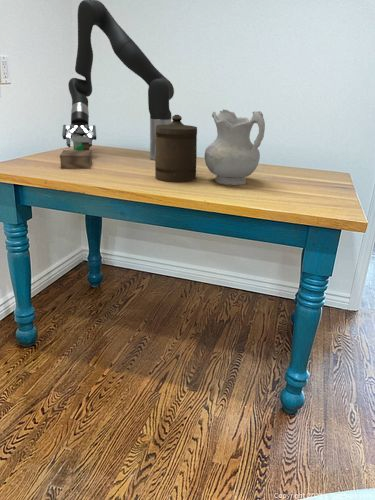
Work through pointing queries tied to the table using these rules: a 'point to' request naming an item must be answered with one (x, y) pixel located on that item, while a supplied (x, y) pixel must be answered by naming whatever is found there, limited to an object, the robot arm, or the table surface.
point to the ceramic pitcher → (234, 148)
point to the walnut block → (76, 159)
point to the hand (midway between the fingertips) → (79, 146)
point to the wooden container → (176, 151)
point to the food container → (80, 142)
